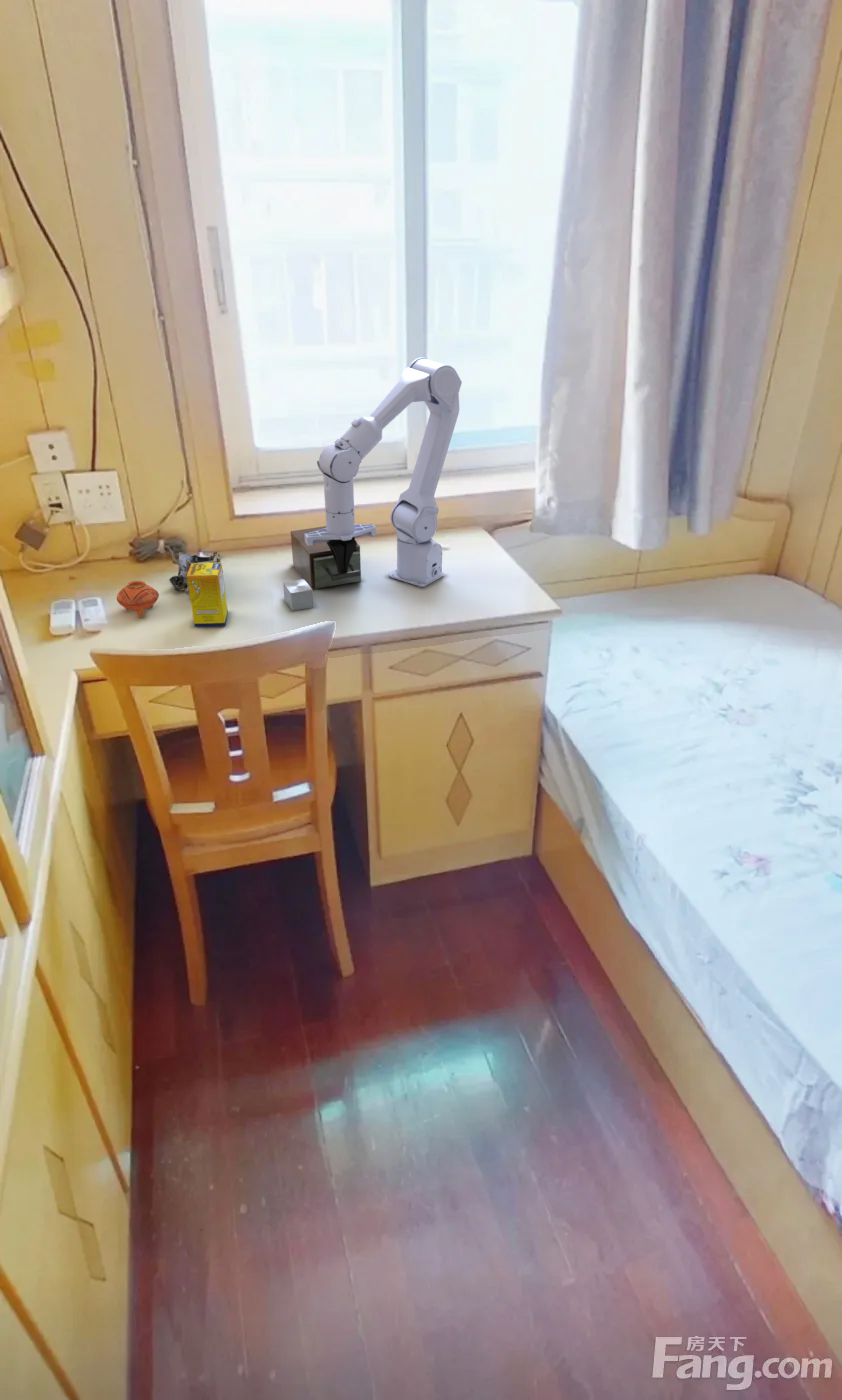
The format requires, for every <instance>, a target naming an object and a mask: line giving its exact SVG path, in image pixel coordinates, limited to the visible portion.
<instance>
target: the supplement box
mask: <svg viewBox="0 0 842 1400" xmlns="http://www.w3.org/2000/svg"><path fill="white" fill-rule="evenodd" d="M222 569H223V564H222V562H221V563H192V564H191V565H190V568H189V571H188V573H187V581H188V588H189V594H190V595H189V600H190V607H191V613H192V619H193V624H194V628H215V627H225V626H226V625H227V619H228V616H229V609H228V602H227V594H226V587H225V579H224V569H223V570H222Z"/></svg>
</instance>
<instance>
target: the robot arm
mask: <svg viewBox="0 0 842 1400" xmlns="http://www.w3.org/2000/svg"><path fill="white" fill-rule="evenodd" d="M462 383H463V382H462V380H461V377H460V376H459V374H458V372H457V370H456V369H455V368H454V367H453V366H452V365H449V364H443V363H440V362H437V361H434V360H430V359H428V358H427V357H417V358H415V359H414V360H413V361H412V362H411V363H410V364H409V366H408V367H406V368H405V369H404V370H403V371H402V373H401V376H400V378H399V380H398V381H397V383H396V384H395V385H394V386H393V387H392V389H391V390H390V392H389V393H388V394H387V395H386V396H385V397H384V399H382V401H381V402H380V403H379V404H378V406H377V407H376V408H375V409H374V411H372V413H371V414H370V415H369V416H359V418H358V419H357V418H355V419H353V421H352V422H350V424H351V426H350V427H349V428H348V429H347V430H346V431H345V433H344V434H343V435H342V436H341V437H339V438H337V439H335V441H334V444H332V445H328V446H326V447H325V448H323V450H322V451H321V453H320V454H319V458H318V460H317V461H316V465H317V467H318V469H319V471H320V472H321V473H322V475H323V476H322V477H323V492H324V493H323V494H324V511H325V514H324V515H325V526H326V528H324V529H321V530H318V531H314V532H311V533H306V534H305V543H306V544H307V546H312V545H313V544H317V543H323V542H326V543H327V544H328V546H329V548H330V550H331V552H332V554H333V556H334V559H335V562H336V565H337V570H338V572H339V573H344V572H347V571H348V566H349V562H350V559H351V557H352V554H353V552H354V550H355V549H356V547H357V543H358V541H356V538H361V537H362V538H363V537H369V536H370V537H376V536H377V526H375V525H374V524H373V523H366V524H356V523H355V520H356V519H355V495H354V493H355V491H354V478H355V477H356V476H357V475H358V474H359V469H360V464H361V463H362V462H363V459H365V458H366V457H367V455H368V454H369V453H370V452H371V451H372V450H373V449H374V448H376V446H377V445H378V444H379V443H380V442H381V441H382V439H383V430H384V429H385V428H386V427H387V426H388V425H389V424H390V423H391V422H393V420H395V419H396V417H398V416H399V415H400V414H402V412H403V411H404V410H405V409H407V408H408V406H410V405H411V404H412V403H417V402H424V404H425V405H426V407H427V410H428V411H429V415H428V416H429V417H428V420H427V423H426V427H425V430H424V434H423V438H422V441H421V444H420V448H419V452H418V454H417V458H416V461H415V465H414V469H413V472H412V476H411V479H410V483H409V487H408V488H407V489H406V490H404V491H403V492H401V493H400V494H399V497H398V499H397V502H396V504H395V505H394V506H393V508H392V510H391V511H390V523H391V525H392V526H393V527H394V529H395V534H396V570H393V571H392V572H391V573H389V574H388V577H389V578H392V579H395V580H398V581H401V582H404V583H408V584H411V585H414V586H417V587H420V588H425V587H427V586H429V585H430V584H432V583H434V582H435V581H436V580H439V579H441V578H442V577H444V575H445V574H444V573H443V548H442V545H441V544H440V543H438V542H436V541H435V540H434V539H433V538H434V536H435V535H436V532H437V530H438V514H439V509H440V508H439V506H438V504H437V501H436V498H435V494H436V491H437V488H438V484H439V481H440V478H441V474H442V471H443V467H444V465H445V461H446V458H447V454H448V450H449V447H450V444H451V440H452V437H453V434H454V431H455V427H456V424H457V420H458V417H459V414H460V396H459V394H460V389H461V386H462Z"/></svg>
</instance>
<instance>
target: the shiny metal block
mask: <svg viewBox="0 0 842 1400" xmlns="http://www.w3.org/2000/svg"><path fill="white" fill-rule="evenodd" d="M282 587H283V599H284V601H285V603H286V605H287V606H288V607H289V609H290V610H291V612H295V611H300V610H306V609H311V608H314V596H313V595H314V594H313V589H312V588H311V587H310V586H309V585H308V583H307V582H306V581H305V579H303V578H301V579H295V580H290V581H284V582H282Z"/></svg>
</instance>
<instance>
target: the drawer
mask: <svg viewBox="0 0 842 1400" xmlns="http://www.w3.org/2000/svg"><path fill="white" fill-rule="evenodd" d="M313 563H314V578H315V587H316V588H317V589H323V588H328V587H327V586H329V587H334V586H333V585H335V586H340V585H339V584H341V585H346V584H352V583H357V582H356V581H358V582H361V581H362V570H361V566H362V565H361V552H360V553H359V552H358V551H356V552H353V554H352V557H351V559H350V562H349V566H348V571H347V572H344V573H339V572H338V570H337V565H336V562H335V559H334V556H333V554H327V555H321V556H314V557H313ZM351 582H352V583H351ZM345 583H346V584H345ZM322 587H323V588H322Z"/></svg>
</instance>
